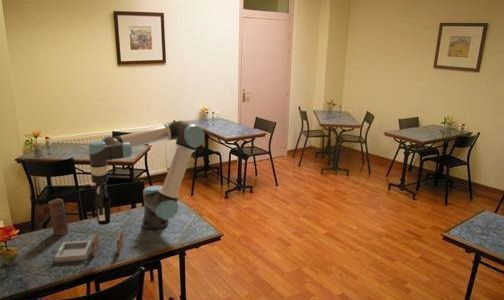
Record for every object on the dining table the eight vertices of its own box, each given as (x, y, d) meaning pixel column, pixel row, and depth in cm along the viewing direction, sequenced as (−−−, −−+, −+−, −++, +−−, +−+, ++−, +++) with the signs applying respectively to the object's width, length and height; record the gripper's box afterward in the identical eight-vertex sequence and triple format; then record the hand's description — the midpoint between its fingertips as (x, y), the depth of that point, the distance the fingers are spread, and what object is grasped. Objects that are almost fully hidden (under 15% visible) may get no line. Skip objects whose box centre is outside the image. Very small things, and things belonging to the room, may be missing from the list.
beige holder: (122, 244, 198) (121, 230, 195) (120, 254, 188) (118, 240, 186) (97, 246, 195) (95, 232, 193) (92, 256, 186) (91, 242, 184)
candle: (55, 237, 202) (50, 204, 196) (51, 232, 207) (46, 199, 202) (70, 233, 207) (65, 200, 201) (66, 228, 212) (61, 196, 207)
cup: (106, 226, 183) (104, 204, 179) (92, 224, 184) (90, 202, 181) (115, 219, 190) (113, 197, 187) (101, 218, 191) (99, 196, 188)
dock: (92, 245, 196) (91, 239, 195) (86, 260, 183) (85, 254, 182) (63, 247, 193) (62, 241, 192) (55, 262, 180) (54, 256, 179)
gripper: (95, 166, 189) (99, 208, 195) (86, 181, 169) (91, 226, 176) (111, 166, 190) (114, 207, 196) (103, 180, 171) (108, 225, 177)
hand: (103, 216), depth 186 cm, fingers closed on cup, 8 cm apart
